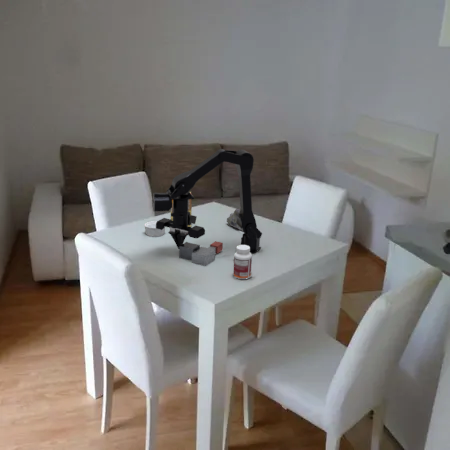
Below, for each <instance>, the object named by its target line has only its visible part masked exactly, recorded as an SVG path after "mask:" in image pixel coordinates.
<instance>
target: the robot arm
mask: <svg viewBox="0 0 450 450" xmlns="http://www.w3.org/2000/svg"><path fill="white" fill-rule="evenodd" d="M254 160H255V159H254V156H253V155H252V154H251V153H250V152H249V151H246V150H245V149H238V150H232V149H231V150H230V149H223V148H219V149H217V150H216V152H214V153H213V154H211V155H210V156H209V157H208V158H206V159H205V160H203V161H202V162H200V163H199V164H197V165H196V166H195V167H194V168H192V169H190V170H188V171H184V172H182V173H180V174H177V175H175V177H174V178H172V182H171V185H170V186H169V187H168V188H167V189H166V192H153V193H152V195H153V196H152V200H151V208H152V211H153V212H169V211H171V208H172V200H173V213H171V212H170V217H171V216H173V221H172V220H171V218H165V217H163V218H161V219H159V220H156V221H157V222H156V228H157V229H160V230H162V229H164V226H165V228H168V229H169V231H168V234H170V236H171V238H172V239H173V241H174V243H175V245H176V247H177V249H178V250H179V246H180V245H182V244H184V243H185V240H186V238H187V236H188V237H189V238H193V239H200V238H201V237H203V236H204V235H205V234H206V230H205V227H203V226H199V225H196V222H197V216H196V215H193V214H191V215H190V212H188V203H189V199H192V200H194V199H195V197H194V195H193V194H192V192H191V190H192V189H194V187H195V186H196V184H197V182H198V181H199V180H201V179H202V178H203V177H205V176H206V175H207V174H209V173H211V171H213V170H214V169H215V168H217V167H219V166H220V165H222V164H223V163H224V162H226V163H229V164H232V165H233V164H234V165H235V169H236V172H237V174H238V187H239V188H238V189H239V208H241V209H240V212H239V214H236V218H237V221H236V223H237V224H238V226H239V227H240V229H241V230H240V229H239V230H240V231H242V233H243V234H242V237H241V239H240V245H247V246H249V247H250V253H251V254H256V253H257V252H258V251H259V250H261V248H262V247H261V246H260V245H261V244H260V243H261V238H262V235H263V233H262V232H261V231H260V229H258V226H257V221H256V218H255V214H254V212H253V206H252V205H253V203H252V182H251V176H252V175H251V174H252V171H253V169H254ZM190 192H191V193H190ZM188 225H189V226H190V225H191V227H188ZM192 225H194V226H192Z"/></svg>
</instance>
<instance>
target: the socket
mask: <svg viewBox="0 0 450 450" xmlns="http://www.w3.org/2000/svg"><path fill="white" fill-rule="evenodd" d="M200 247H201V245H200V244H197V243H196V244H195V243H191V242H187V241H186V242H183V244H182V245H180V246H179V249H178V250H179V251H178V253H179V259H183V260H185V261H191V262H192V252H194V251H195V250H197V249H199V248H200Z"/></svg>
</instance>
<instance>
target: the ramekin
mask: <svg viewBox="0 0 450 450" xmlns="http://www.w3.org/2000/svg"><path fill="white" fill-rule="evenodd" d="M157 221H158V220H152V221H148V222H145V223H144V229H145V230H144V231H145V235H146V236H148V237H152V238H154V237H155V238H157V237H161V236H163V235H165V232H166V231H165V230H166V227H165V226H164V229H162V230H160V229H157V228H156V222H157Z"/></svg>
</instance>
